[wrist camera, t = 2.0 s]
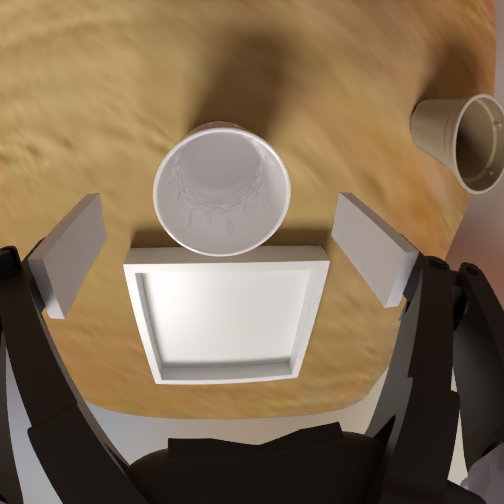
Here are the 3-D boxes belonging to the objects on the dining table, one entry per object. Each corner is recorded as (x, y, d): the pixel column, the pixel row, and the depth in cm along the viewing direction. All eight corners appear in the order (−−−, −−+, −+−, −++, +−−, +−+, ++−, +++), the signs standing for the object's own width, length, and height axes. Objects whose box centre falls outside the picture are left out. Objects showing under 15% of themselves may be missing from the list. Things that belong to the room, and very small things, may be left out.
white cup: (173, 114, 22) (150, 128, 13) (265, 116, 23) (298, 132, 15) (174, 199, 26) (158, 257, 17) (258, 199, 27) (282, 256, 19)
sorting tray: (129, 247, 28) (123, 264, 25) (320, 245, 31) (330, 260, 28) (157, 367, 38) (156, 383, 36) (292, 361, 41) (297, 377, 38)
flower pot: (381, 112, 24) (439, 129, 16) (435, 69, 21) (494, 76, 14) (419, 180, 28) (469, 213, 21) (465, 136, 25) (517, 159, 18)
